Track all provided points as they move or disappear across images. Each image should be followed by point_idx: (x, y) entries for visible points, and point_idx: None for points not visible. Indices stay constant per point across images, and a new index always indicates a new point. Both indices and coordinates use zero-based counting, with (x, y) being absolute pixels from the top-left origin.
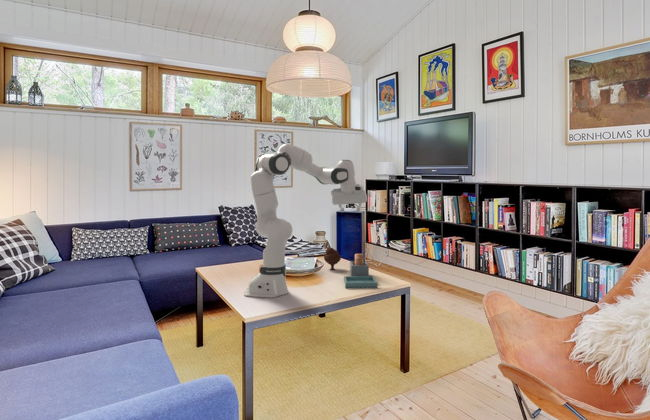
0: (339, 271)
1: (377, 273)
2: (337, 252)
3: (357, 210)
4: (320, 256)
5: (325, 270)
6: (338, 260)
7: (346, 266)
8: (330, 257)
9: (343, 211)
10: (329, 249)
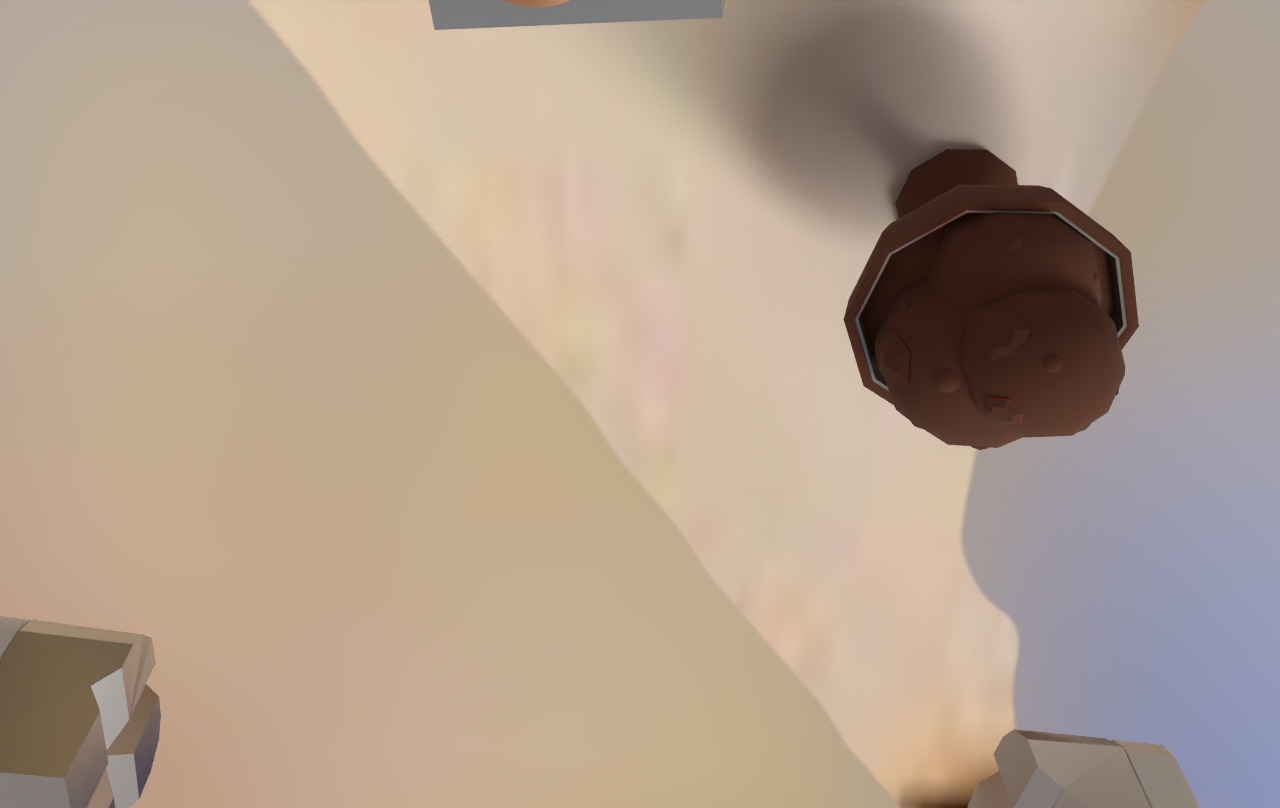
0: (860, 185)
1: (337, 75)
2: (913, 354)
3: (123, 634)
4: None
5: None
6: (895, 222)
7: (745, 413)
8: (1047, 218)
9: (1031, 733)
10: (1075, 354)
